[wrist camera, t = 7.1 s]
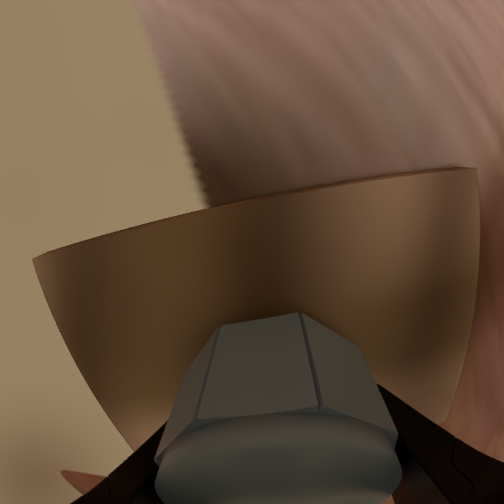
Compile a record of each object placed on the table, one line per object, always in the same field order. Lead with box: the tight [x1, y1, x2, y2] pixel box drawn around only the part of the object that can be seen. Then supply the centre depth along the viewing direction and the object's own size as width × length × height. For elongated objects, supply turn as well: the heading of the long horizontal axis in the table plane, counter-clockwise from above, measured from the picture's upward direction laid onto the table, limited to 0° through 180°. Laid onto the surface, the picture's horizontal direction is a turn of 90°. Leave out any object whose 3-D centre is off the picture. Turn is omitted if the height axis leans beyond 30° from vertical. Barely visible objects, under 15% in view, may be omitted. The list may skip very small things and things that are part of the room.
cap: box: [154, 312, 402, 504], centre depth 7 cm, size 6×6×4 cm
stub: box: [32, 167, 480, 452], centre depth 8 cm, size 16×12×5 cm
